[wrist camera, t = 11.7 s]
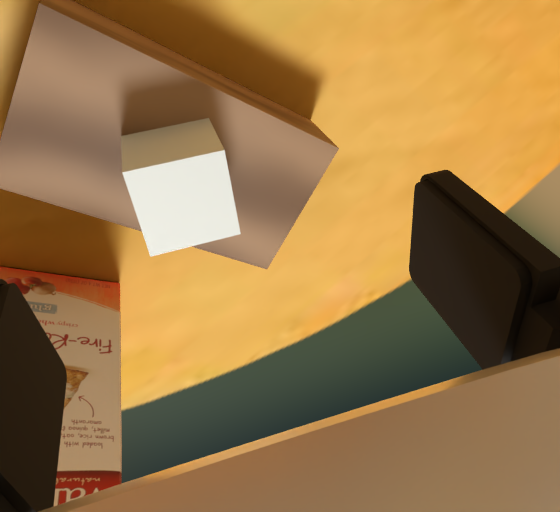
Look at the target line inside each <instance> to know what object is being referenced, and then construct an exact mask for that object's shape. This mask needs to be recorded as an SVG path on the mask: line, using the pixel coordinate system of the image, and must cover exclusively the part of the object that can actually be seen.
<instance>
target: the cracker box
mask: <svg viewBox="0 0 560 512" xmlns="http://www.w3.org/2000/svg"><path fill="white" fill-rule="evenodd" d="M0 279H3V280H5V281H6V282H7V283H8V284H9V283H15V284H16V285H17V286H18V287H19V289H20V291H21V292H22V294H23V296H24V297H25V299H26V301H27V302H28V304H29V306H30V308H31V309H32V311H33V313H34V314H35V316H36V318H37V319H38V321H39V323H40V324H41V326H42V328H43V329H44V331H45V333H46V334H47V336H48V338H49V339H50V341H51V343H52V344H53V346H54V348H55V349H56V351H57V353H58V354H59V356H60V358H61V359H62V361H63V363H64V365H65V368H66V372H67V383H66V393H65V402H64V411H63V421H62V430H61V440H60V449H59V459H58V468H57V477H56V487H55V496H54V506H57V505H60V504H63V503H65V502H68V501H71V500H74V499H77V498H80V497H83V496H86V495H89V494H92V493H95V492H98V491H101V490H104V489H107V488H110V487H113V486H116V485H119V484H121V450H122V449H121V325H120V284H119V283H115V282H107V281H100V280H92V279H86V278H79V277H71V276H64V275H57V274H49V273H43V272H36V271H29V270H22V269H15V268H8V267H0ZM54 506H53V507H54Z"/></svg>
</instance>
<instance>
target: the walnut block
mask: <svg viewBox="0 0 560 512" xmlns="http://www.w3.org/2000/svg"><path fill="white" fill-rule="evenodd" d="M206 118H209V119H210V121H211V123H212V125H213V128H214V130H215V132H216V134H217V136H218V138H219V140H220V142H221V144H222V146H223V148H224V150H225V155H226V160H227V165H228V170H229V176H230V181H231V186H232V191H233V196H234V202H235V207H236V212H237V217H238V223H239V228H240V233H241V234H239V235H235V236H231V237H227V238H223V239H219V240H215V241H211V242H207V243H203V244H199V245H195V246H192V247H195V248H198V249H202V250H205V251H208V252H212V253H215V254H218V255H221V256H225V257H228V258H231V259H235V260H238V261H241V262H245V263H248V264H251V265H254V266H258V267H261V268H264V269H268V267H269V265H270V263H271V262H272V260H273V258H274V257H275V255H276V253H277V252H278V250H279V248H280V247H281V245H282V243H283V242H284V240H285V238H286V237H287V235H288V233H289V232H290V230H291V228H292V226H293V225H294V223H295V221H296V220H297V218H298V216H299V215H300V213H301V211H302V210H303V208H304V206H305V205H306V203H307V201H308V200H309V198H310V196H311V195H312V193H313V191H314V190H315V188H316V186H317V184H318V183H319V181H320V179H321V178H322V176H323V174H324V173H325V171H326V169H327V168H328V166H329V164H330V163H331V161H332V159H333V158H334V156H335V154H336V153H337V151H338V149H339V148H338V147H337V146H336V145H335V144H334V143H333V142H332V141H331V140H330V139H329V138H328V137H327V136H326V135H325V134H324V133H323V132H322V131H321V130H320V129H319V128H318V127H317V126H316V125H315V124H314V123H313V122H312V121H311V120H309V119H307V118H305V117H303V116H301V115H299V114H297V113H295V112H293V111H291V110H289V109H287V108H285V107H283V106H281V105H279V104H277V103H275V102H274V101H272V100H270V99H268V98H266V97H264V96H262V95H260V94H258V93H256V92H254V91H252V90H250V89H248V88H246V87H244V86H242V85H240V84H238V83H236V82H234V81H232V80H230V79H228V78H226V77H224V76H222V75H220V74H218V73H216V72H214V71H212V70H210V69H208V68H206V67H204V66H202V65H200V64H198V63H196V62H194V61H192V60H190V59H188V58H186V57H184V56H182V55H180V54H178V53H176V52H174V51H172V50H170V49H168V48H166V47H164V46H162V45H160V44H158V43H156V42H154V41H152V40H150V39H148V38H146V37H144V36H142V35H140V34H138V33H136V32H134V31H132V30H130V29H128V28H126V27H124V26H122V25H121V24H119V23H117V22H115V21H113V20H111V19H109V18H107V17H105V16H103V15H101V14H99V13H97V12H95V11H93V10H91V9H89V8H87V7H85V6H83V5H81V4H79V3H77V2H75V1H73V0H41V1H40V2H39V5H38V9H37V12H36V16H35V19H34V23H33V26H32V30H31V33H30V37H29V40H28V44H27V48H26V51H25V55H24V58H23V62H22V65H21V69H20V72H19V76H18V79H17V83H16V86H15V90H14V93H13V97H12V100H11V104H10V108H9V111H8V115H7V118H6V122H5V125H4V129H3V132H2V136H1V139H0V189H4V190H7V191H10V192H13V193H17V194H20V195H23V196H27V197H30V198H33V199H37V200H40V201H43V202H46V203H50V204H53V205H56V206H60V207H63V208H66V209H70V210H73V211H76V212H79V213H83V214H86V215H89V216H93V217H96V218H99V219H103V220H106V221H109V222H113V223H116V224H119V225H122V226H126V227H129V228H132V229H136V230H139V231H142V230H141V227H140V224H139V221H138V218H137V215H136V212H135V209H134V206H133V203H132V200H131V197H130V194H129V191H128V188H127V185H126V182H125V179H124V176H123V173H122V150H121V136H124V135H129V134H133V133H138V132H143V131H148V130H153V129H158V128H162V127H167V126H172V125H177V124H182V123H187V122H191V121H196V120H201V119H206Z"/></svg>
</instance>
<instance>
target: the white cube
mask: <svg viewBox="0 0 560 512" xmlns="http://www.w3.org/2000/svg"><path fill="white" fill-rule="evenodd" d="M121 150H122V173H123V176H124V179H125V182H126V185H127V188H128V191H129V194H130V197H131V200H132V203H133V206H134V209H135V212H136V215H137V218H138V221H139V224H140V227H141V230H142V233H143V236H144V239H145V242H146V245H147V248H148V250H149V253H150V256H155V255H159V254H163V253H167V252H171V251H175V250H179V249H183V248H187V247H191V246H195V245H199V244H203V243H207V242H211V241H215V240H219V239H223V238H227V237H231V236H235V235H239V234H241V233H240V228H239V223H238V217H237V212H236V207H235V202H234V196H233V191H232V186H231V181H230V176H229V170H228V165H227V160H226V155H225V150H224V148H223V146H222V144H221V142H220V140H219V138H218V136H217V134H216V132H215V130H214V128H213V125H212V123H211V121H210V119H209V118H206V119H201V120H196V121H191V122H187V123H182V124H177V125H172V126H167V127H162V128H158V129H153V130H148V131H143V132H138V133H133V134H129V135H124V136H121Z"/></svg>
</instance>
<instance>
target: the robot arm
mask: <svg viewBox="0 0 560 512" xmlns="http://www.w3.org/2000/svg"><path fill="white" fill-rule="evenodd" d="M409 271H410V275H411V278H412V280H413V282H414V283H415V284H416V286H417V287H418V288H419V289H420V291H421V292H422V293H423V295H424V296H425V297H426V298H427V300H428V301H429V302H430V303H431V305H432V306H433V307H434V308H435V309H436V311H437V312H438V313H439V315H440V316H441V317H442V319H443V320H444V321H445V322H446V324H447V325H448V326H449V327H450V329H451V330H452V331H453V332H454V334H455V335H456V336H457V337H458V339H459V340H460V341H461V343H462V344H463V345H464V346H465V348H466V349H467V350H468V351H469V353H470V354H471V355H472V356H473V358H474V359H475V360H476V361H477V363H478V364H479V365H480V366H481V368H482V369H483V370H481V371H477V372H474V373H471V374H467V375H464V376H461V377H458V378H455V379H452V380H448V381H445V382H442V383H438V384H435V385H432V386H429V387H425V388H422V389H419V390H416V391H413V392H409V393H406V394H403V395H400V396H396V397H393V398H390V399H387V400H383V401H380V402H377V403H374V404H371V405H367V406H364V407H361V408H358V409H355V410H351V411H348V412H345V413H342V414H339V415H336V416H333V417H329V418H326V419H323V420H320V421H317V422H313V423H310V424H307V425H304V426H301V427H297V428H294V429H292V430H288V431H285V432H282V433H279V434H276V435H272V436H269V437H266V438H263V439H260V440H256V441H254V442H250V443H247V444H244V445H241V446H237V447H234V448H231V449H228V450H225V451H222V452H219V453H216V454H213V455H210V456H206V457H203V458H200V459H197V460H194V461H191V462H188V463H185V464H181V465H178V466H175V467H172V468H169V469H166V470H163V471H160V472H157V473H153V474H150V475H147V476H144V477H141V478H138V479H135V480H132V481H128V482H126V483H122V484H119V485H116V486H113V487H110V488H107V489H104V490H101V491H98V492H95V493H92V494H89V495H86V496H83V497H80V498H77V499H74V500H71V501H68V502H65V503H63V504H60V505H57V506H54V496H55V487H56V477H57V468H58V459H59V449H60V440H61V430H62V421H63V411H64V402H65V393H66V383H67V372H66V368H65V365H64V363H63V361H62V359H61V358H60V356H59V354H58V353H57V351H56V349H55V348H54V346H53V344H52V343H51V341H50V339H49V338H48V336H47V334H46V333H45V331H44V329H43V328H42V326H41V324H40V323H39V321H38V319H37V318H36V316H35V314H34V313H33V311H32V309H31V308H30V306H29V304H28V302H27V301H26V299H25V297H24V296H23V294H22V292H21V291H20V289H19V287H18V286H17V285H16V284H15V283H9V284H8V283H7V282H6V281H5V280H3V279H0V512H560V258H559V257H557V256H556V255H555V254H554V253H552V252H551V251H550V250H549V249H547V248H546V247H545V246H544V245H542V244H541V243H540V242H539V241H537V240H536V239H535V238H534V237H532V236H531V235H530V234H528V233H527V232H526V231H525V230H523V229H522V228H521V227H520V226H518V225H517V224H516V223H515V222H513V221H512V220H511V219H509V218H508V217H507V216H506V215H505V214H503V213H502V212H501V211H499V210H498V209H497V208H496V207H494V206H493V205H492V204H491V203H489V202H488V201H487V200H486V199H484V198H483V197H482V196H481V195H479V194H478V193H477V192H475V191H474V190H473V189H472V188H470V187H469V186H468V185H467V184H465V183H464V182H463V181H462V180H460V179H459V178H458V177H457V176H455V175H454V174H453V173H452V172H450V171H448V170H442V171H438V172H434V173H430V174H426V175H424V176H422V178H421V181H420V182H418V183H417V184H416V185H415V191H414V205H413V220H412V234H411V249H410V263H409ZM53 506H54V507H53Z"/></svg>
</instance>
